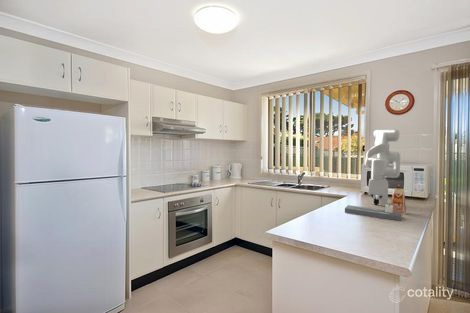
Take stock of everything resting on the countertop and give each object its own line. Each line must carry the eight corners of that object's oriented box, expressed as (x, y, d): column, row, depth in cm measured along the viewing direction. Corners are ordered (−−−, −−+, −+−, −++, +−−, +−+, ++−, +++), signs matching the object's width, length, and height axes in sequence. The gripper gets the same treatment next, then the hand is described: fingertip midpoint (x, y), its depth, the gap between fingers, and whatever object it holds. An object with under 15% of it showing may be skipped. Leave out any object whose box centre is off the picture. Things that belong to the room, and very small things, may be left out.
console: (347, 209, 182) (348, 205, 182) (401, 216, 164) (401, 212, 164) (344, 212, 172) (344, 208, 172) (400, 221, 154) (401, 216, 154)
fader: (385, 210, 166) (385, 204, 166) (392, 211, 164) (393, 205, 164) (385, 212, 162) (385, 205, 162) (392, 213, 160) (392, 206, 160)
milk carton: (405, 215, 170) (406, 185, 169) (389, 212, 175) (390, 183, 175) (406, 212, 177) (407, 184, 176) (390, 210, 183) (392, 182, 182)
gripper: (390, 177, 165) (389, 205, 166) (365, 175, 174) (364, 202, 175) (390, 179, 159) (389, 207, 160) (363, 177, 167) (362, 204, 168)
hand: (376, 204), depth 167 cm, fingers closed
